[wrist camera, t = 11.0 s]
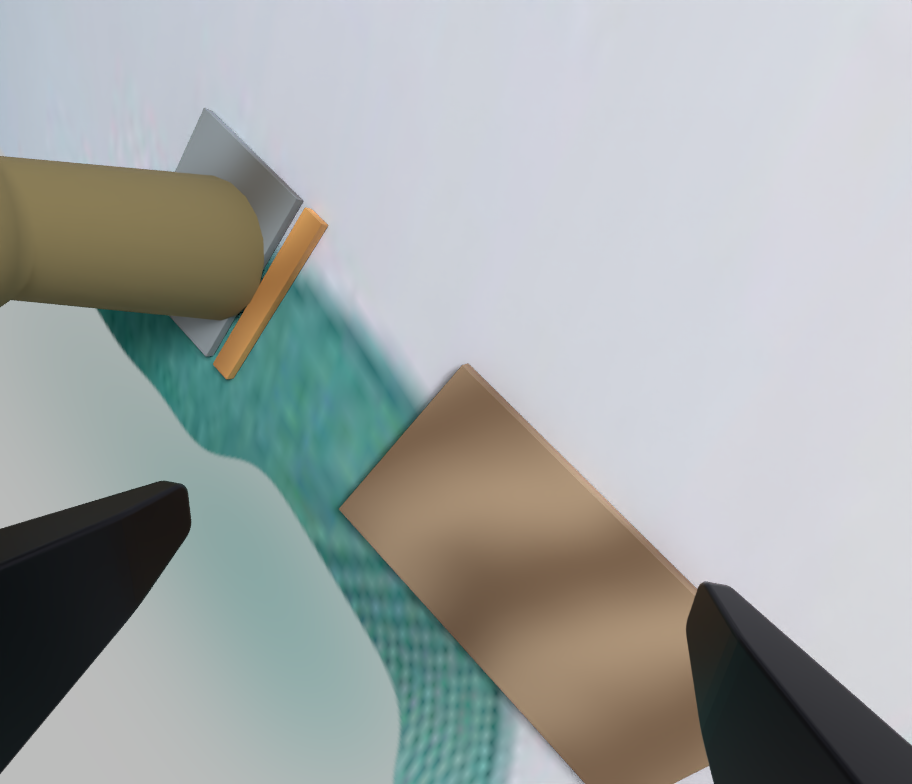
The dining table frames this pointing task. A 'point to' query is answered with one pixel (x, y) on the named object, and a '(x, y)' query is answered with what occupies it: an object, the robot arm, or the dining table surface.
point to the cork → (126, 239)
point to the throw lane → (499, 537)
